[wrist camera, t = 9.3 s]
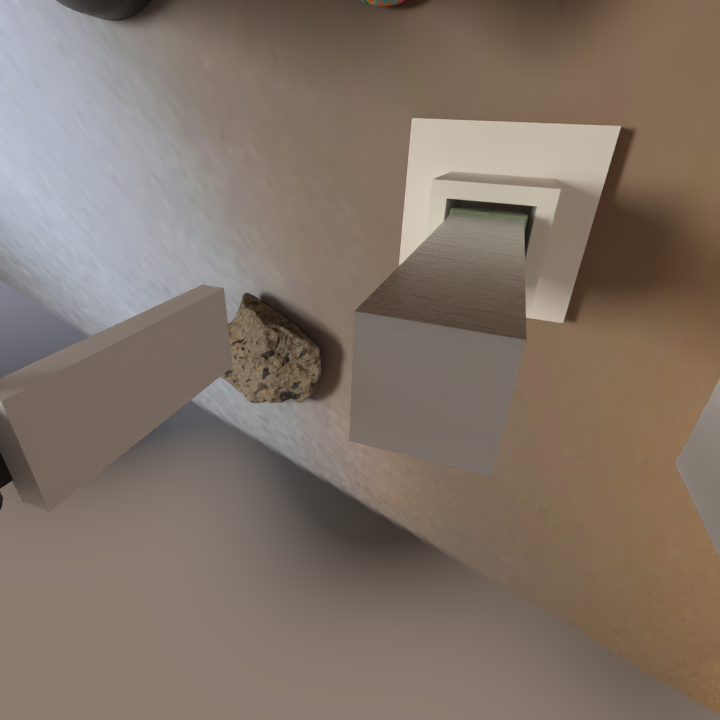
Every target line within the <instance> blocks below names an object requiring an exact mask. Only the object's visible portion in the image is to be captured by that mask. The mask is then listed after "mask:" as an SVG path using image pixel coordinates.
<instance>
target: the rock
mask: <svg viewBox="0 0 720 720" xmlns="http://www.w3.org/2000/svg"><path fill="white" fill-rule="evenodd" d="M228 330H229V338H230V347H231V355H232V364H233V367H231V368H230V369H229V370H228V371H226V372H225V373H224V374H223V375H221V376H220V377H221V378H223V379H225V380H226V381H227V382H229V383H230V384H232V385H233V386H234V387H235V388H236V389H237V390H238V391H240V392H241V393H242V394H243V395H244V396H245V397H246V398H247V400H248V401H250V402H252V403H262V402H266V401H268V402H269V403H274V402H279V403H282V402H284V401H285V400H287V399H294V400H296V401H298V402H300V403H301V402H303V401H304V400H305V399H306V398H307V397H310V396H311V395H312V394H313V393H314V392H315V391H316V388H317V383H318V381H319V379H320V378H321V367H320V365H321V356H320V350H319V348H318V347H317V345H315V344H314V343H313V342H312V341H311V340H310V339H309V338H308V337H307V336H305V335H304V334H303V333H302V332H301V330H300V329H299V328H298V326H296V325H295V324H293V323H292V322H290V321H289V320H288V319H286V318H285V317H283V316H282V315H280V314H279V313H278V312H277V311H275V310H274V309H272V308H271V307H269V306H268V305H265V304H264V303H263V302H262V301H261V300H259V299H258V298H257V297H255V296H253V295H251V294H249V293H245V294H244V295H243V298H242V302H241V305H240V308H239V310H238V312H237V316H236V318H235V319H234V320H233V321H232V322H231V323H229V324H228Z"/></svg>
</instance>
